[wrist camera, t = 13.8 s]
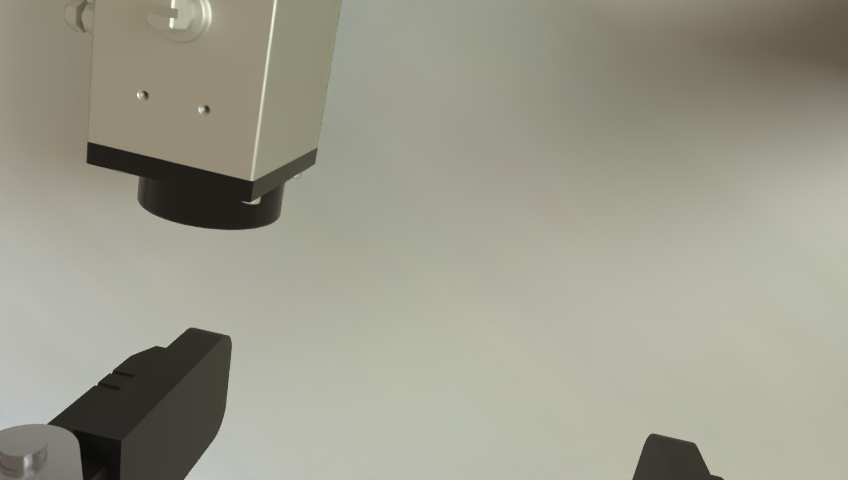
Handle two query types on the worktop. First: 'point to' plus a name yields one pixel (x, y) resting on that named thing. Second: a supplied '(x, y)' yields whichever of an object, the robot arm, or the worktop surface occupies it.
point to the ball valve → (208, 100)
